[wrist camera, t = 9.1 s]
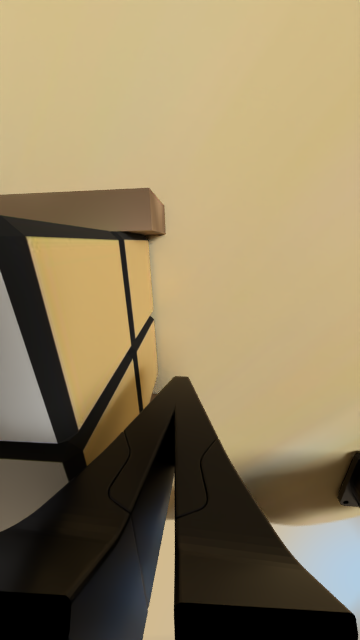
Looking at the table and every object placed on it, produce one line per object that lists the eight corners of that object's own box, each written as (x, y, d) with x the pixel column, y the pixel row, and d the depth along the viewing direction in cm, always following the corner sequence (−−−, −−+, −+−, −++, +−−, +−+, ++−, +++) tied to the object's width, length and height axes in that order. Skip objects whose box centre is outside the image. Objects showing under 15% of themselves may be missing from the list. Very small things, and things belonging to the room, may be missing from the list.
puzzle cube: (38, 371, 16) (-166, 537, 7) (-5, 239, 13) (-522, 228, 4) (159, 373, 16) (106, 563, 6) (149, 234, 12) (-1, 208, 3)
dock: (174, 430, 18) (164, 517, 12) (40, 424, 19) (-26, 501, 13) (161, 152, 11) (124, 51, 5) (-53, 164, 12) (-285, 92, 6)
